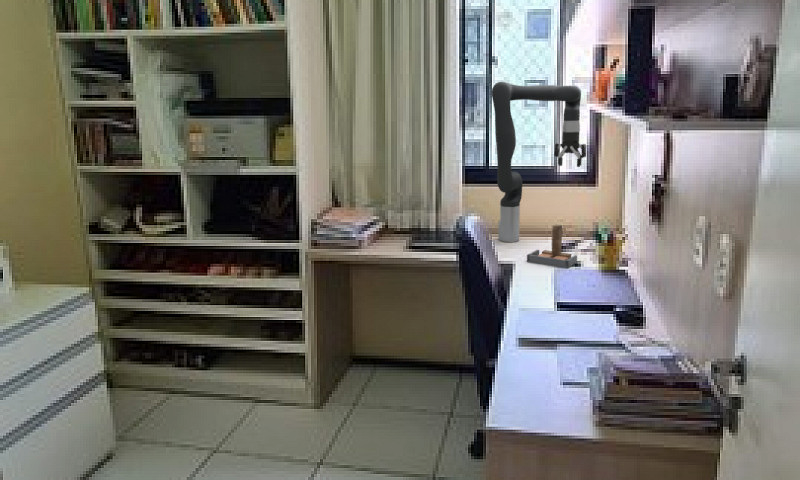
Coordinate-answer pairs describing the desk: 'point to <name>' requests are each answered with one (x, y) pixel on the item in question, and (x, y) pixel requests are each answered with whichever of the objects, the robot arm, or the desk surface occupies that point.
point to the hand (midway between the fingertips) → (569, 166)
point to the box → (551, 260)
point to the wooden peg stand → (556, 243)
